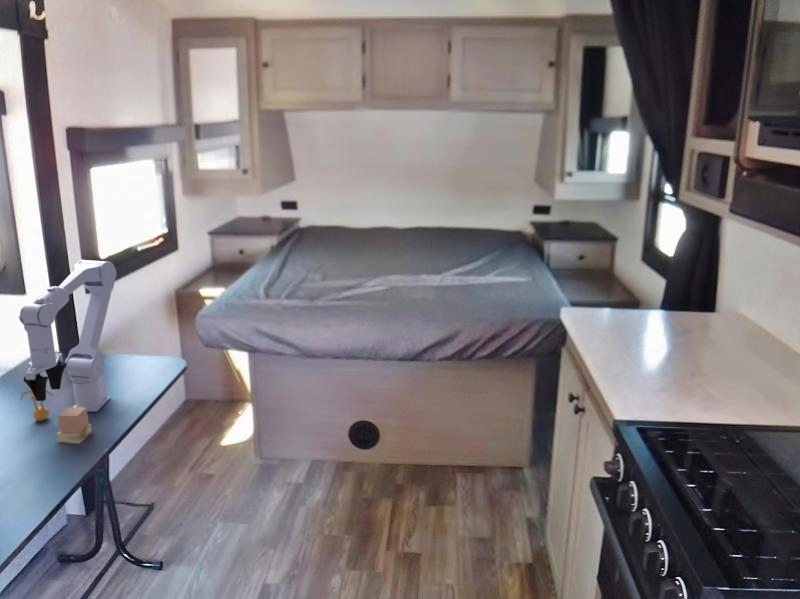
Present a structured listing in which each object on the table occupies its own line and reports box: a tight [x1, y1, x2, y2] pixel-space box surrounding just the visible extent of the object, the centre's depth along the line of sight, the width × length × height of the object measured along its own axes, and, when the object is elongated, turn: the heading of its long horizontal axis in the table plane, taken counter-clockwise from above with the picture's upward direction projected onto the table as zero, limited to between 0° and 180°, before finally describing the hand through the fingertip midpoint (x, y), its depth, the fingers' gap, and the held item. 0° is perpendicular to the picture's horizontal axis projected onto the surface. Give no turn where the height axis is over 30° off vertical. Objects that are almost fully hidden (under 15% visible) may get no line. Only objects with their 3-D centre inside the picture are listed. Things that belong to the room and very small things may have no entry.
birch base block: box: [56, 423, 93, 444], centre depth 170 cm, size 6×6×3 cm
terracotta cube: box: [57, 406, 90, 433], centre depth 169 cm, size 5×5×5 cm
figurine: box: [19, 388, 54, 422], centre depth 177 cm, size 8×6×12 cm
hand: (48, 394), depth 172 cm, fingers open, 7 cm apart
